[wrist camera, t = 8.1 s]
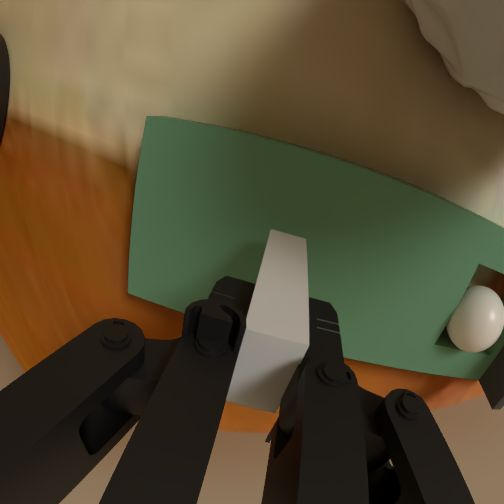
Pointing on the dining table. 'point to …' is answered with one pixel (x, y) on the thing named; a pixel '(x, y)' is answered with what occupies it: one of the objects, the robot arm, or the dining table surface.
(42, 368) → the robot arm
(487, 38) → the vase
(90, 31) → the dining table surface
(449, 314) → the green
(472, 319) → the ball
